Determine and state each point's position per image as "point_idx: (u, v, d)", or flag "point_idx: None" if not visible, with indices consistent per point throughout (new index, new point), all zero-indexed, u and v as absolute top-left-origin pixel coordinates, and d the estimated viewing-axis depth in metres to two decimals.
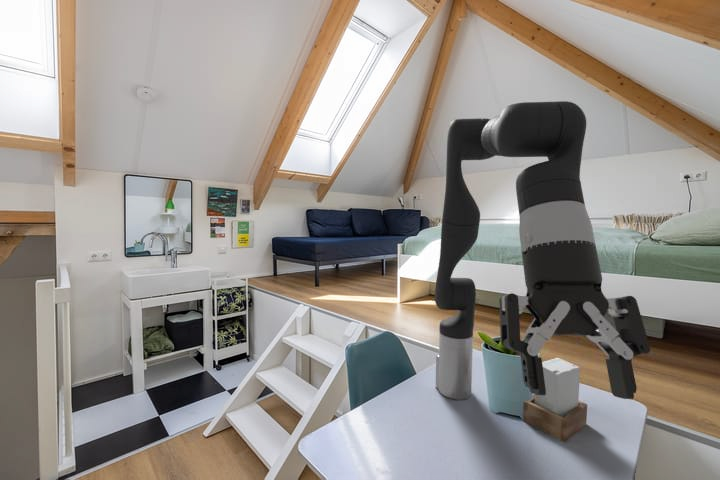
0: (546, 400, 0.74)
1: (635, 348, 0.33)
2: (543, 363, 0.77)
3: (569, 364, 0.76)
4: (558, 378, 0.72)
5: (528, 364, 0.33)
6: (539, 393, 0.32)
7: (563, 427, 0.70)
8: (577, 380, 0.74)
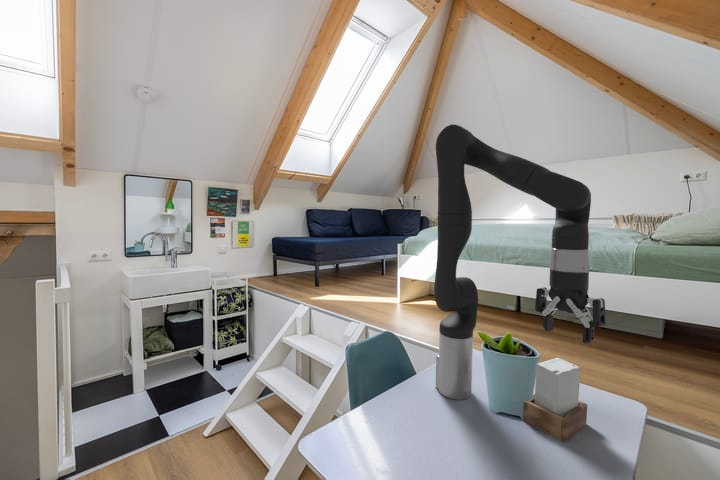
0: (546, 400, 0.74)
1: (544, 309, 0.78)
2: (543, 363, 0.77)
3: (569, 364, 0.76)
4: (558, 378, 0.72)
5: (593, 330, 0.69)
6: (590, 341, 0.69)
7: (563, 427, 0.70)
8: (577, 380, 0.74)
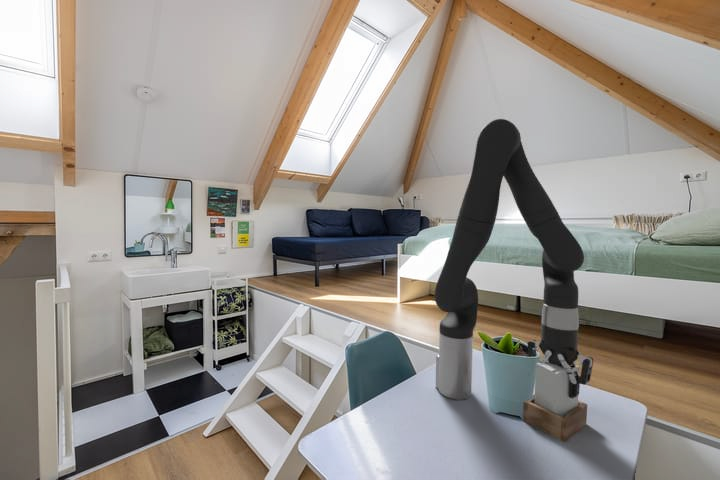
0: (546, 399, 0.74)
1: None
2: (542, 363, 0.77)
3: None
4: (558, 377, 0.72)
5: None
6: None
7: (563, 427, 0.70)
8: None
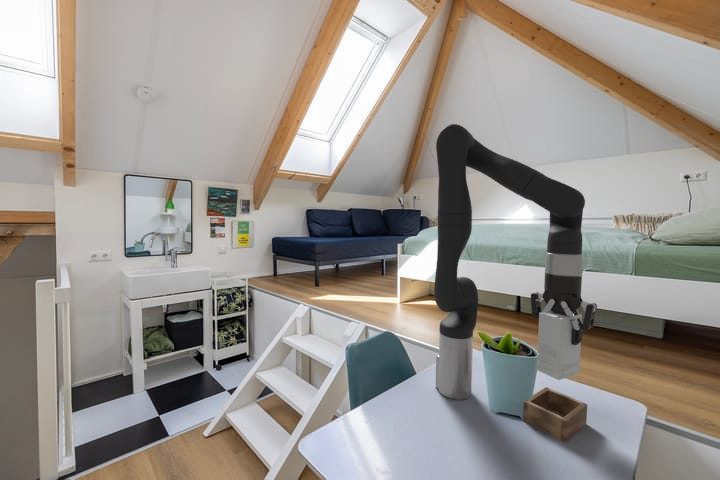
0: (549, 347, 0.74)
1: None
2: None
3: None
4: (562, 322, 0.72)
5: (581, 332, 0.73)
6: (578, 342, 0.74)
7: (563, 427, 0.70)
8: None
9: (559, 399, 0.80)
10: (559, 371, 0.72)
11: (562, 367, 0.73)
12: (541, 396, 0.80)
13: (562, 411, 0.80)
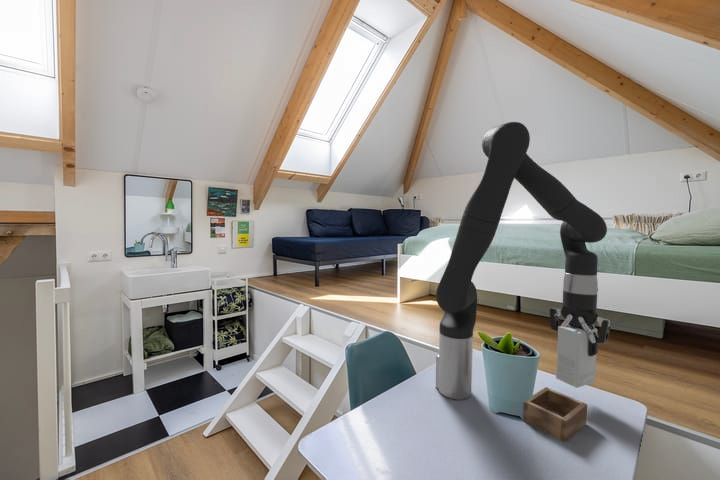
0: (568, 358, 0.82)
1: None
2: (564, 326, 0.85)
3: None
4: (580, 336, 0.80)
5: (597, 345, 0.81)
6: None
7: (563, 427, 0.70)
8: None
9: (559, 399, 0.80)
10: (578, 380, 0.81)
11: (580, 376, 0.81)
12: (541, 396, 0.80)
13: (562, 411, 0.80)
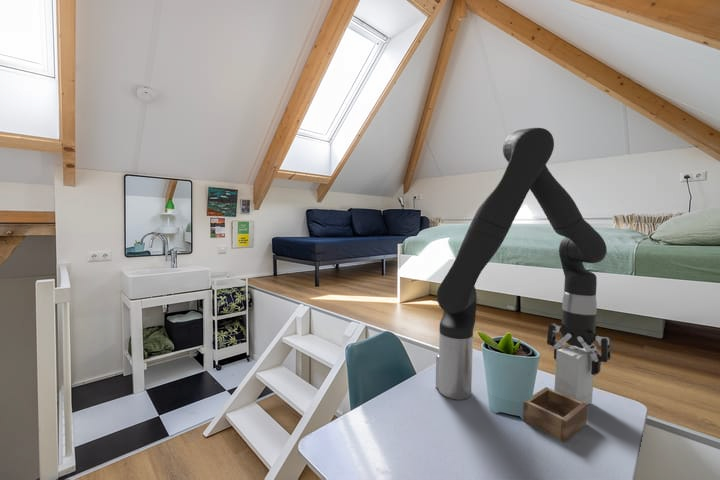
0: (566, 382, 0.83)
1: None
2: (562, 349, 0.85)
3: None
4: (578, 361, 0.80)
5: (600, 363, 0.81)
6: None
7: (563, 427, 0.70)
8: None
9: (559, 399, 0.80)
10: None
11: (578, 399, 0.81)
12: (541, 396, 0.80)
13: (562, 411, 0.80)
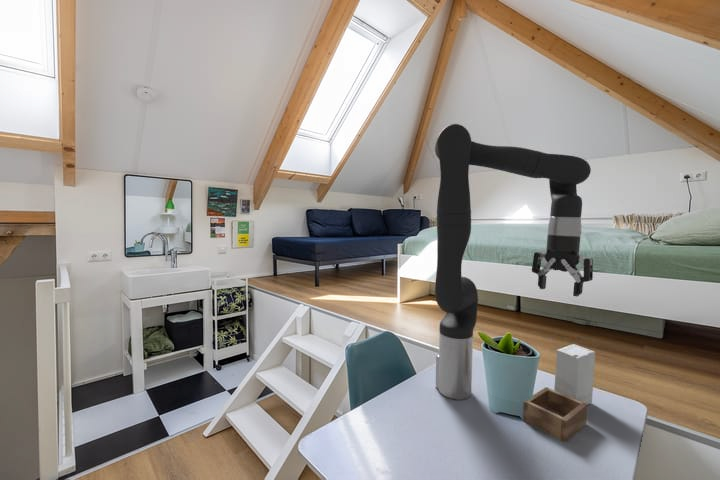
0: (566, 382, 0.83)
1: None
2: (562, 349, 0.85)
3: (585, 349, 0.85)
4: (578, 361, 0.80)
5: (582, 285, 0.82)
6: (578, 294, 0.83)
7: (563, 427, 0.70)
8: (592, 363, 0.83)
9: (559, 399, 0.80)
10: None
11: (578, 399, 0.81)
12: (541, 396, 0.80)
13: (562, 411, 0.80)
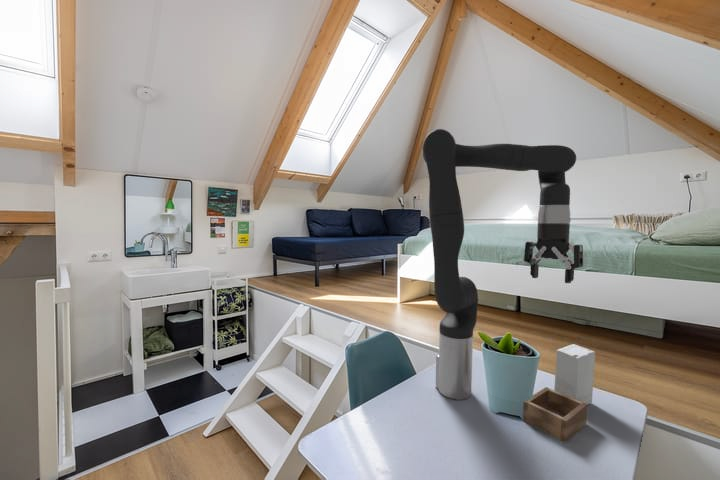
0: (566, 382, 0.83)
1: None
2: (562, 349, 0.85)
3: (585, 349, 0.85)
4: (578, 361, 0.80)
5: None
6: (570, 281, 0.84)
7: (563, 427, 0.70)
8: (592, 363, 0.83)
9: (559, 399, 0.80)
10: None
11: (578, 399, 0.81)
12: (541, 396, 0.80)
13: (562, 411, 0.80)
